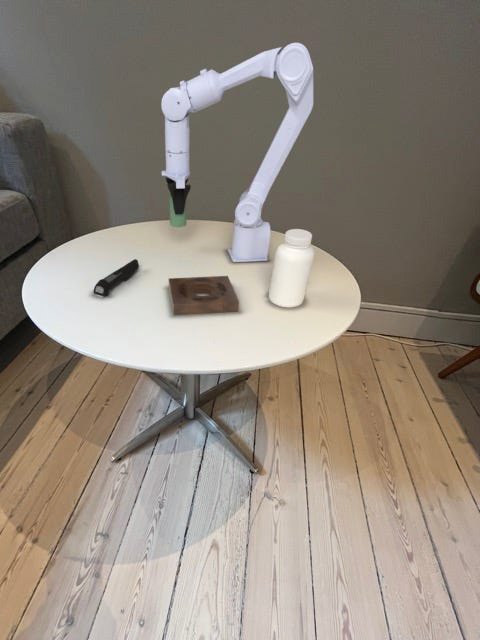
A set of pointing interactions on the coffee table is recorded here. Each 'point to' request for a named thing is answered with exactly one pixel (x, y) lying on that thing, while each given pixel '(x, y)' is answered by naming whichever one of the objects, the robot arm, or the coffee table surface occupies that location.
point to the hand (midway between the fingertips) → (178, 210)
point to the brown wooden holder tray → (215, 302)
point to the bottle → (177, 215)
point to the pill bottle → (291, 269)
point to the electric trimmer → (115, 278)
